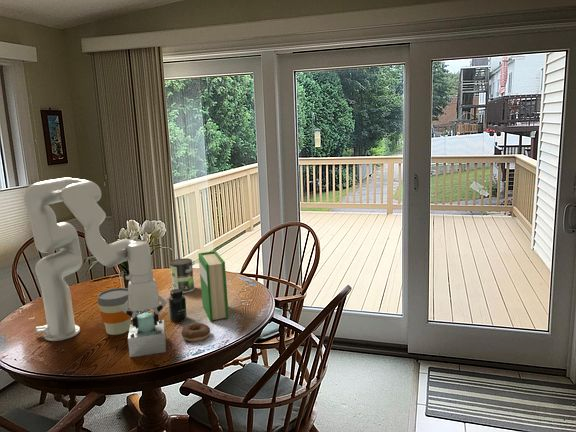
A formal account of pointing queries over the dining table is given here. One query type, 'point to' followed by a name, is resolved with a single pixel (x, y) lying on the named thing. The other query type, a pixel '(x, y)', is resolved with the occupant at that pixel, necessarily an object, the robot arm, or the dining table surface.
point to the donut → (195, 332)
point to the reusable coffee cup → (114, 310)
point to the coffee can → (182, 275)
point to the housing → (147, 340)
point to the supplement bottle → (177, 306)
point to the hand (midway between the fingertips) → (146, 324)
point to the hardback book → (213, 285)
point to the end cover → (146, 322)
